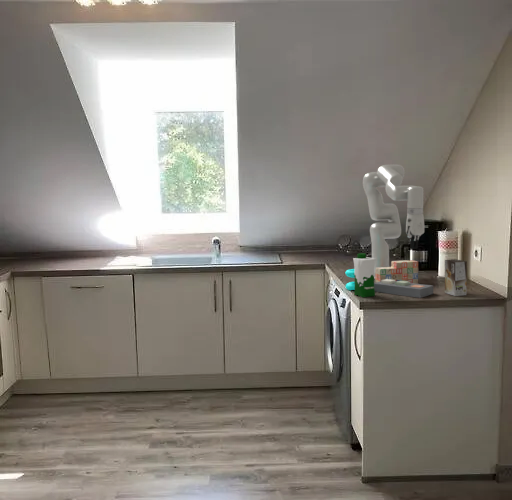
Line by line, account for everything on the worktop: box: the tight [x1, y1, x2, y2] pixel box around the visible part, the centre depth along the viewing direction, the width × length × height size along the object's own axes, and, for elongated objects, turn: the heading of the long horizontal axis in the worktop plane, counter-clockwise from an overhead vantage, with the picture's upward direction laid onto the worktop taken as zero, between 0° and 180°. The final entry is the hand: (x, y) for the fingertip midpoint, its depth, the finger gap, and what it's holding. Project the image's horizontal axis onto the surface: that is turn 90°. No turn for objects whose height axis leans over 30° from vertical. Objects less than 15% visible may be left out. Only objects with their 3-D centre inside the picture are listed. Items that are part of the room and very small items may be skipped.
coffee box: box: [444, 258, 468, 297], centre depth 251 cm, size 9×6×16 cm
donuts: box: [345, 268, 355, 291], centre depth 271 cm, size 10×10×10 cm
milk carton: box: [352, 252, 376, 298], centre depth 254 cm, size 9×9×20 cm
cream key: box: [381, 279, 395, 284], centre depth 265 cm, size 5×5×3 cm
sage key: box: [395, 281, 410, 286], centre depth 259 cm, size 5×5×3 cm
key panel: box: [374, 281, 434, 299], centre depth 259 cm, size 26×12×4 cm, turn 43°
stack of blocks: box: [374, 259, 419, 284], centre depth 281 cm, size 21×6×12 cm, turn 100°
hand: (414, 248), depth 265 cm, fingers closed
